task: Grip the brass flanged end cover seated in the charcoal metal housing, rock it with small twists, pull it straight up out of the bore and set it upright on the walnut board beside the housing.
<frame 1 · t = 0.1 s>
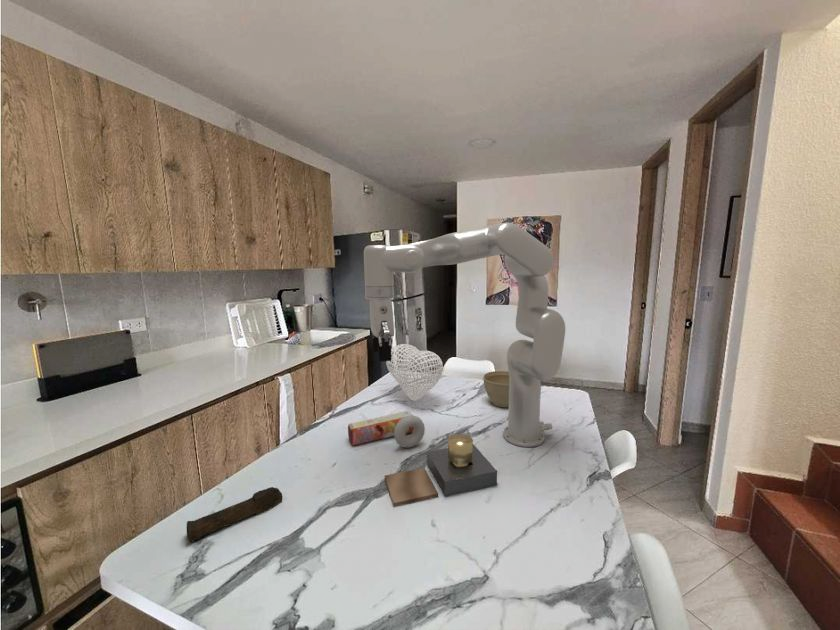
hand: (381, 356, 93), 31 cm above the countertop, tool pointing down, fingers open, 9 cm apart
board: (410, 487, 87), on the countertop
hand tool: (238, 519, 78), on the countertop
housing: (460, 474, 92), on the countertop
heart: (414, 400, 142), on the countertop
snack package: (382, 437, 113), on the countertop
planter bowl: (503, 403, 138), on the countertop
donut: (409, 447, 107), on the countertop
end cover: (460, 457, 91), in the housing
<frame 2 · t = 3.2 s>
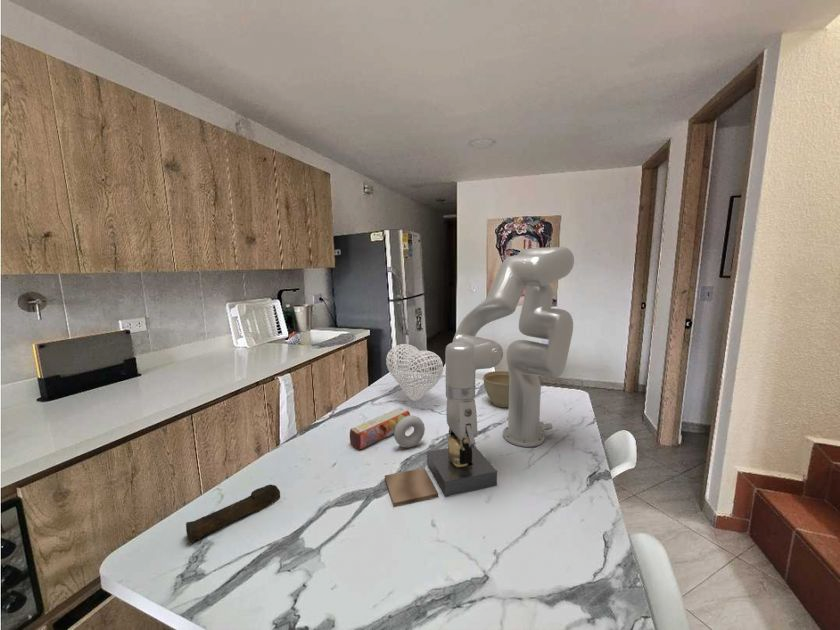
hand: (460, 455, 91), 6 cm above the countertop, tool pointing down, fingers closed on end cover, 6 cm apart
end cover: (460, 457, 91), in the housing, touching gripper
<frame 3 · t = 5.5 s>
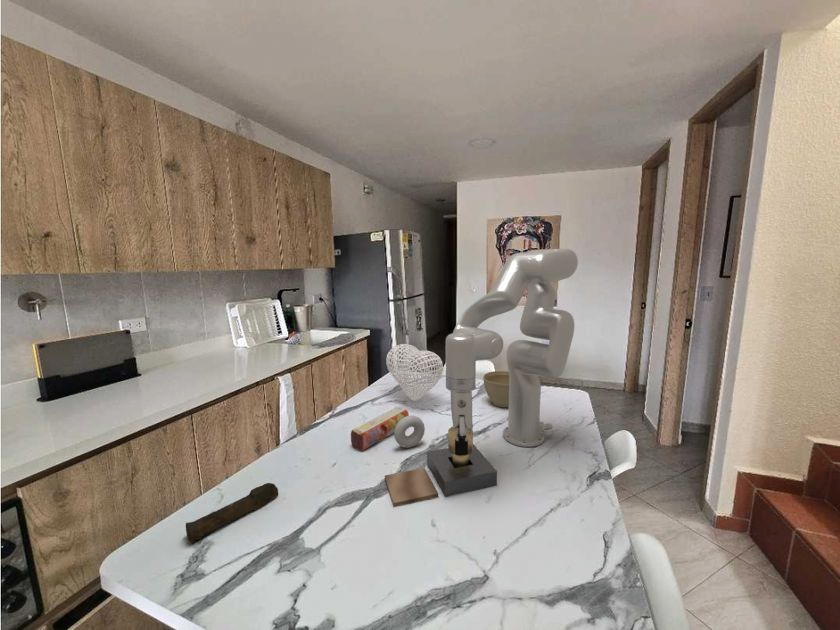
hand: (460, 446, 91), 8 cm above the countertop, tool pointing down, fingers closed on end cover, 6 cm apart
end cover: (460, 448, 91), point 7 cm above the countertop, touching gripper
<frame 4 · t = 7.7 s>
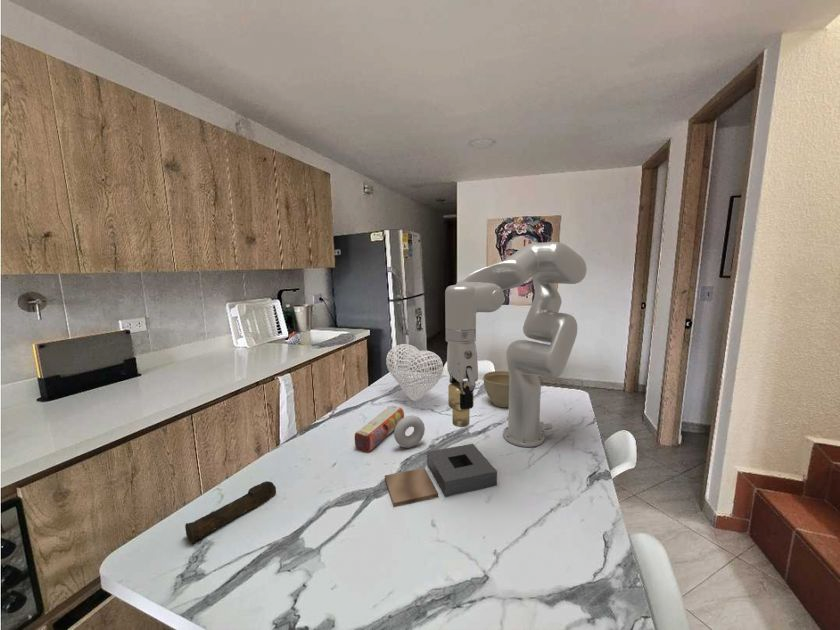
hand: (460, 402, 89), 20 cm above the countertop, tool pointing down, fingers closed on end cover, 6 cm apart
end cover: (460, 404, 89), point 20 cm above the countertop, touching gripper
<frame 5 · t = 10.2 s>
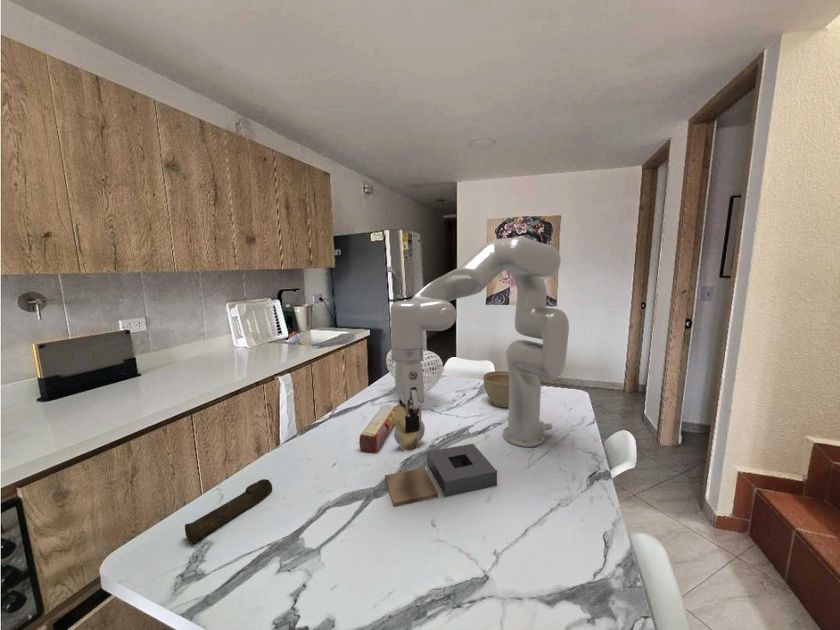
hand: (408, 424, 84), 17 cm above the countertop, tool pointing down, fingers closed on end cover, 6 cm apart
end cover: (408, 426, 84), point 16 cm above the countertop, touching gripper
when the fingers open (8 cm above the countertop, at t = 12.2 s): end cover drops 1 cm, resting on board.
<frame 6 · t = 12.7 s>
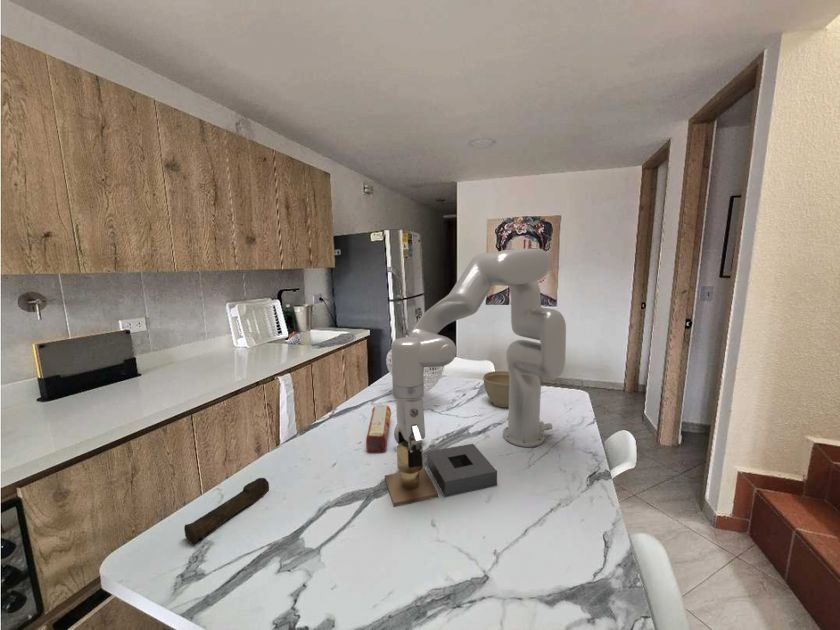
hand: (409, 455, 86), 9 cm above the countertop, tool pointing down, fingers open, 9 cm apart
end cover: (410, 465, 86), on the board, point 6 cm above the countertop
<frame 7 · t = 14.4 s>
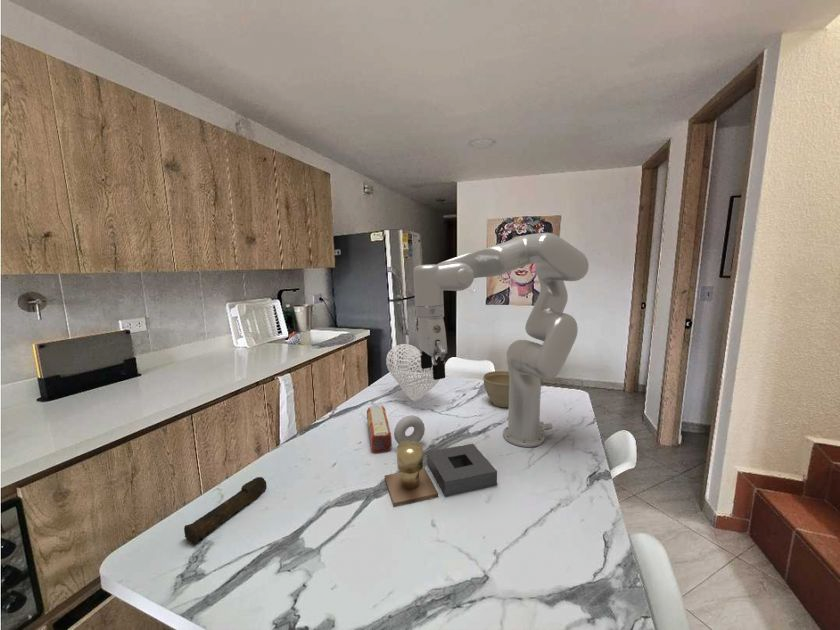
hand: (432, 373, 95), 26 cm above the countertop, tool pointing down, fingers open, 9 cm apart
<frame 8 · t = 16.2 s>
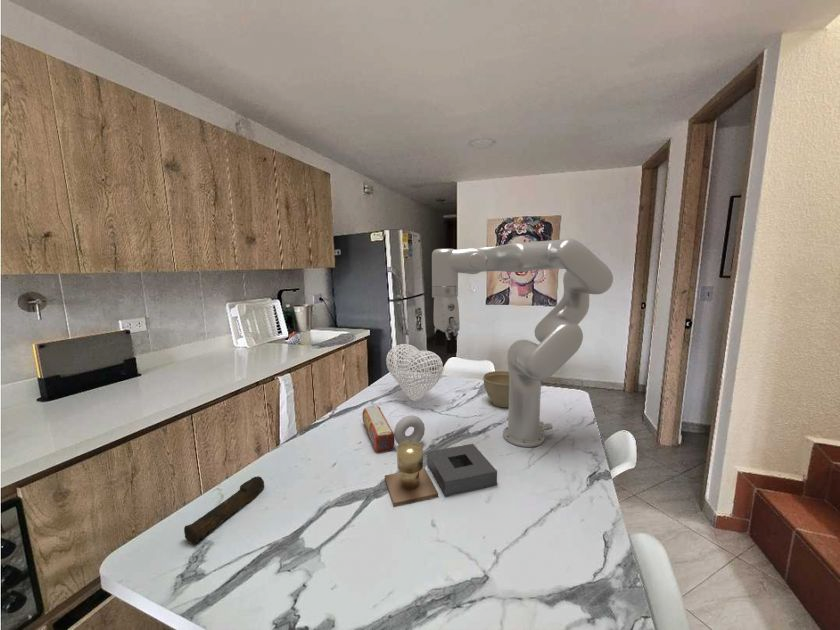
hand: (445, 349, 103), 30 cm above the countertop, tool pointing down, fingers open, 9 cm apart
at the end: end cover inside the target area on the board (0.1 cm from its centre), point 6.0 cm above the board's base; end cover tilted 0°; the gripper is holding nothing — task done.
